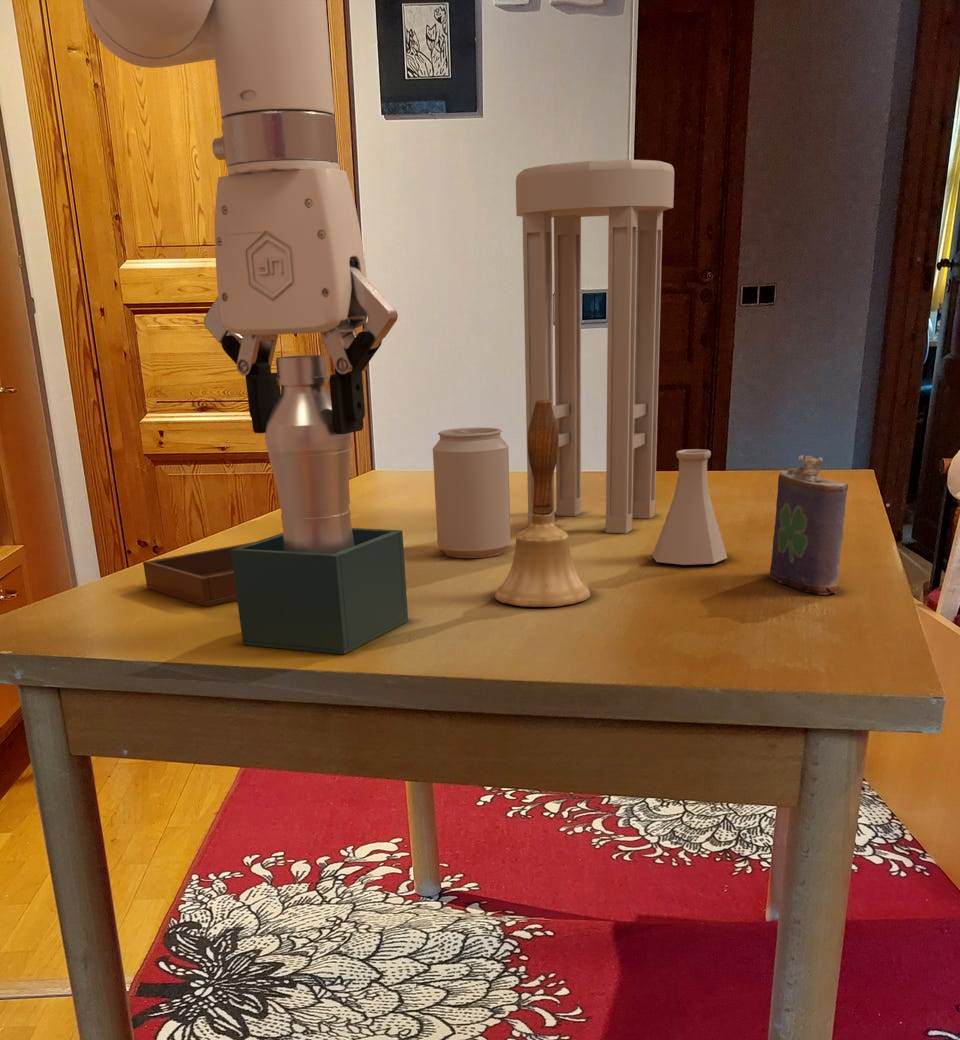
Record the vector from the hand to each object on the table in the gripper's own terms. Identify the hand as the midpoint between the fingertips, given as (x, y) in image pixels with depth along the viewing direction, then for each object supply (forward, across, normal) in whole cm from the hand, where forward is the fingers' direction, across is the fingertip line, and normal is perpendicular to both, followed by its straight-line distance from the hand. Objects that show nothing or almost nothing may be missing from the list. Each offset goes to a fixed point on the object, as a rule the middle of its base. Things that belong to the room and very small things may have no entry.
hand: (308, 429), depth 87 cm
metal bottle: (+15, 0, 0) cm, 15 cm away
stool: (+16, +4, +51) cm, 53 cm away
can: (+16, -2, +32) cm, 36 cm away
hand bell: (+16, +12, +16) cm, 25 cm away
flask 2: (+16, +32, +26) cm, 44 cm away
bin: (+15, 0, 0) cm, 15 cm away
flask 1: (+16, +20, +34) cm, 42 cm away
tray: (+15, -17, +14) cm, 27 cm away
